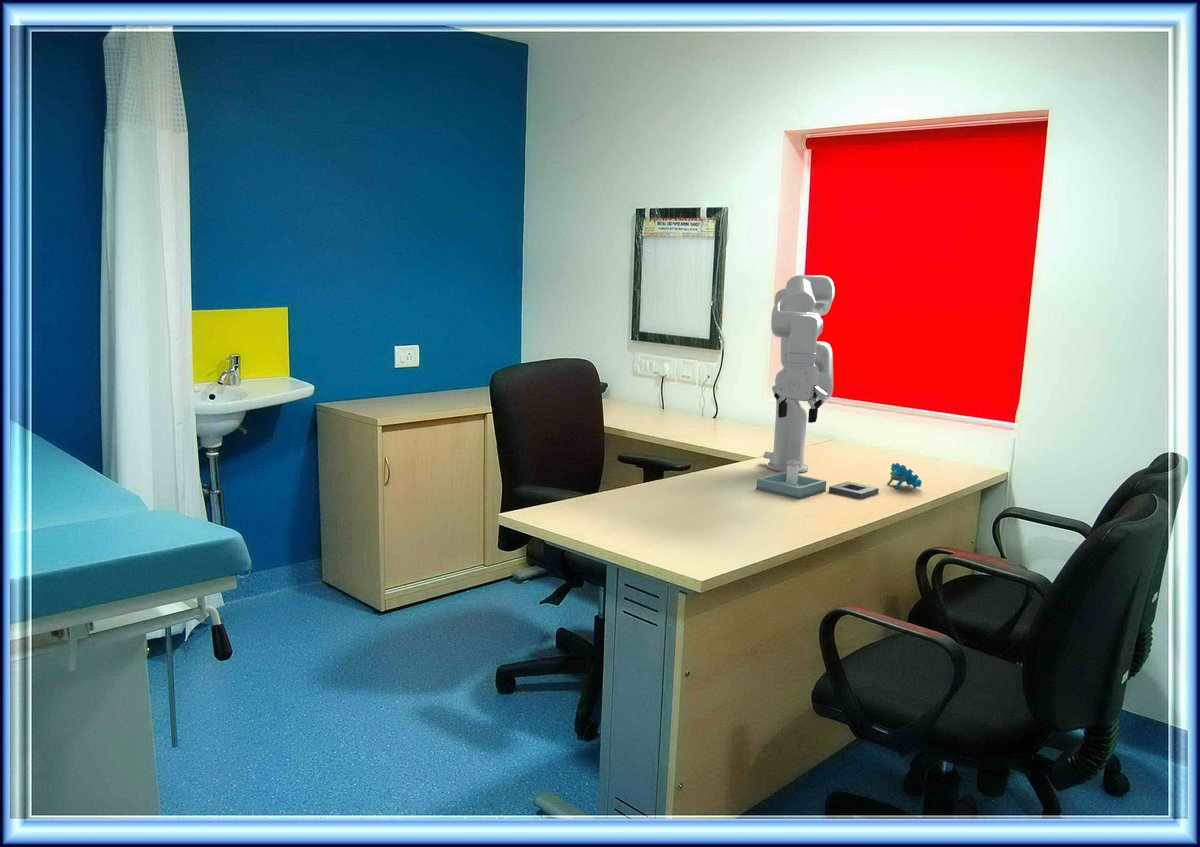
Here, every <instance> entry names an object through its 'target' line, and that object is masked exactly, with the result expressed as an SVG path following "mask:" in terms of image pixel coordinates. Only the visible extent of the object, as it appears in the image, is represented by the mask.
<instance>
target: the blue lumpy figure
mask: <svg viewBox="0 0 1200 847" xmlns="http://www.w3.org/2000/svg"><path fill="white" fill-rule="evenodd" d="M890 471H891V472H890V473H889V474H890V479H889V481H888V482H887V483H886V485H888V486H890V485H891V484H892V483H893V481H897V483H896V484H895V485H894V489H896V490H898V489H899V488H900V487H901V485H903V483H904V482H906V485H907V486H909V487H910V486H912V487H913V488H920V487H921V486H922V480H921V479H919V478H920V476H919V475H917V474H916V473H915V474H914V475H913V472H914V471H913V470H912V469H911V468H909V469H908V468H907V467H906V466H905V465H904V464H900V463H898V462H895V463H892V464H891V465H890Z"/></svg>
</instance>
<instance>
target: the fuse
mask: <svg viewBox="0 0 1200 847" xmlns="http://www.w3.org/2000/svg"><path fill="white" fill-rule="evenodd" d="M799 465H800V462H799V461H794V460H788V461H787V475H786V484H787V485H791V486H795V487H798V485H797V483H798V475H799V473H798V469H799Z"/></svg>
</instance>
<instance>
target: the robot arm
mask: <svg viewBox="0 0 1200 847" xmlns="http://www.w3.org/2000/svg"><path fill="white" fill-rule="evenodd" d="M834 297H835V286H834V281H833V280H832V279H831V278H830V277H829V276H826V275H811V274H810V275H809V274H807V275H806V274H805V275H804V274H801V275H795V276H791V277H790V278H789V279H788V280H787V282H786V284H785V288H781V289H780V290H779V289H778V291H777V292H776V294H775V295H774V303H773V304H774V306H773V308H772V311H771V321H770V325H771V326H770V327H771V332H772V334H773V335H774V336H775V337H776V338H779V339H780V363H781V365H782V370H780V371H778V372H777V373H776V374H775V379H774V380H775V381H774V384H775V385H773V386H772V387H771V390H772V392H773V394H774V395H773V396H774V398H775V399H776V402H775V407H776V408H775V423H774V439H773V451H772V452H771V451H768V450H767V451H765V452H764V453H763V456H762V457H763V459H769V462H767V465H766V466H767V468H768V469H770V470H772V471H776V472H779V473H782V472H787V461H788V460H794V461H799V462H800V465H799V469H798V474H799V473H804V472H807V471H808V470H809V466H808V464H805V463H804V462H805V461H804V459H805V446H806V434H807V433H806V432H807V423H809V424H812V423H816V422H817V419H818V413H819V412H818V410H819V408H821V406H822V405H823V404H824V403H825V401H828V400H829V399H830V398H831V397H832V395H833V392H834V365H833V364H834V362H833V361H834V357H833V349H832V347H831V344H829V343H828V342H825V341H817V340H818V337H819V336H820V335H821V334H822V333H823V328H824V324H823V323H824V321H823V319H822V318H821V316H825V315H827V314H828V312H830V309H831V307H832V303H833V300H834ZM800 402H807V403H808V405H809V407H810V408H809V409H808V415H807V412H806V409H805V407H804V406H803V405H802V404H801V403H800Z"/></svg>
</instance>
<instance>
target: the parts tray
mask: <svg viewBox="0 0 1200 847" xmlns="http://www.w3.org/2000/svg"><path fill="white" fill-rule="evenodd" d="M786 475H787V472H778V473H775V474H771V475H767V476H763V477H760V478H756V488H755V489H756V490H757V491H758V490H759V491H764V492H767V493H771V494H776V495H779V496H784V497H788V498H792V499H796V500H800V499H804V498H807V497H811V496H814V495H818V494H821V493H825V492H827V480H824V479H819V478H815V477H814V478H813V477H809V476H805V475H801V474H798V483H797V485H798V487H795V486H791V485H787V484H786ZM817 493H818V494H817Z"/></svg>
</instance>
